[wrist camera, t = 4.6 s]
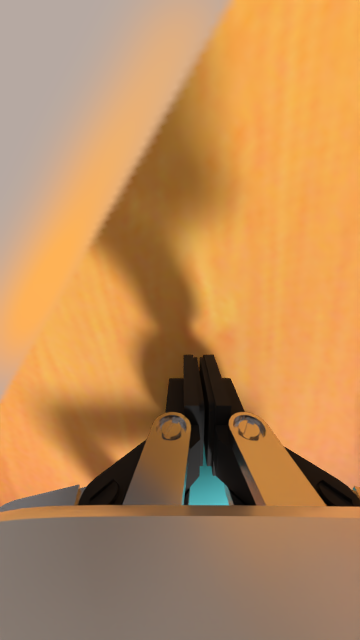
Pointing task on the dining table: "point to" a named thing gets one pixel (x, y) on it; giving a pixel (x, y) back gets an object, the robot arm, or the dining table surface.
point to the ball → (207, 488)
